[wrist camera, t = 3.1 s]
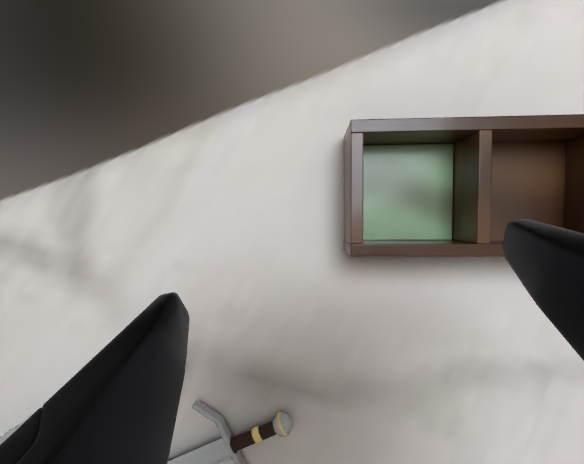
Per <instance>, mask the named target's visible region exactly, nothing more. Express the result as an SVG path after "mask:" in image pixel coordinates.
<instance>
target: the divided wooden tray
mask: <svg viewBox="0 0 584 464" xmlns="http://www.w3.org/2000/svg"><path fill="white" fill-rule="evenodd" d="M520 219H530V220H534V221H537V222H541V223H545V224H549V225H553V226H557V227H561V228H565V229H568V230H572V231H576V232H580V233H584V114H577V115H535V116H493V117H451V118H409V119H367V120H351V121H350V124H349V126H348V129H347V131H346V133H345V136H344V250H345V251H346V252H347V253H348V254H349V255H350V256H452V257H504V255H503V252H502V245H503V239H504V234H505V228H506V225H507V224H508V223H509V222H511V221H516V220H520Z"/></svg>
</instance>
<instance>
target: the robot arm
mask: <svg viewBox="0 0 584 464" xmlns="http://www.w3.org/2000/svg"><path fill="white" fill-rule="evenodd" d="M502 252H503V255H504V257H505V258H506V260H507V261H508V263H509V264H510V266H511V267H512V269H513V270H514V272H515V273H516V275H517V276H518V278H519V279H520V281H521V282H522V284H523V285H524V287H525V288H526V290H527V291H528V293H529V294H530V296H531V297H532V298H533V300H534V301H535V302H536V304H537V305H538V306H539V308H540V309H541V310H542V311H543V313H544V314H545V315H546V316H547V317H548V319H549V320H550V321H551V322H552V323H553V325H554V326H555V327H556V328H557V329H558V331H559V332H560V333H561V334H562V335H563V337H564V338H565V339H566V340H567V341H568V343H569V344H570V345H571V346H572V347H573V349H574V350H575V351H576V352H577V353H578V354H579V356H580V357H581V358H582V359H583V360H584V233H580V232H576V231H572V230H568V229H565V228H561V227H557V226H553V225H549V224H545V223H541V222H537V221H534V220H530V219H520V220H516V221H511V222H509V223H508V224H507V225H506V228H505V234H504V239H503V245H502ZM188 331H189V314H188V311H187V310H186V308H185V306H184V304H183V303H182V301H181V299H180V297H179V296H178V294H177V293H174V292H172V293H167V294H163V295H160V296H159V297H158V298H157V299H156V300H155V301H154V302H152V303H151V304H150V305H149V306H148V307H147V308H146V309H145V310H144V311H143V312H142V313H141V314H140V315H139V316H138V317H136V318H135V319H134V320H133V321H132V322H131V323H130V324H129V325H128V326H127V327H126V328H125V329H124V330H123V331H122V332H120V333H119V334H118V335H117V336H116V337H115V338H114V339H113V340H112V341H111V342H110V343H109V344H108V345H107V346H106V347H104V348H103V349H102V350H101V351H100V352H99V353H98V354H97V355H96V356H95V357H94V358H93V359H92V360H91V361H90V362H88V363H87V364H86V365H85V366H84V367H83V368H82V369H81V370H80V371H79V372H78V373H77V374H76V375H75V376H74V377H72V378H71V379H70V380H69V381H68V382H67V383H66V384H65V385H64V386H63V387H62V388H61V389H60V390H59V391H58V392H57V393H55V394H54V395H53V396H52V397H51V398H50V399H49V400H48V401H47V402H46V403H45V404H44V405H43V408H39V409H38V410H37V411H36V412H35V413H34V414H33V415H32V416H31V417H30V418H29V419H28V420H27V421H26V422H25V423H23V424H22V425H21V426H20V427H19V428H18V429H17V430H16V431H15V432H14V433H13V434H11V435H10V436H9V437H8V438H7V439H6V440H5V441H4V442H3V443H2V444H0V464H167V462H168V457H169V452H170V447H171V442H172V437H173V431H174V426H175V421H176V416H177V411H178V406H179V400H180V395H181V390H182V385H183V380H184V374H185V366H186V355H187V343H188Z"/></svg>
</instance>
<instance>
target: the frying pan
mask: <svg viewBox="0 0 584 464" xmlns="http://www.w3.org/2000/svg"><path fill="white" fill-rule="evenodd" d="M192 408H193V409H195V410H196V411H198V412H199V413H201V414H202V415H204V416H205V417H207V418H208V419H210V420H211V421H213V422H214V423H215V424H216V426H217V428H218V430H219V432H220V434H221V436H222V438H221V439H219V440H216V441H214V442H212V443H209V444H207V445H205V446H202V447H200V448H198V449H196V450H193V451H191V452H189V453H186V454H184V455H182V456H179V457H177V458H175V459H172V460H170V461H168V462H167V464H218V463H220V462H223V461H225V460H227V459H230V458H232V459H233V461H234V463H235V464H245V462H244V460H243V458H242V456H241V454H240V451H239V450H241V449H243V448H245V447H248V446H250V445H253V444H255V443H261V442H262V441H263V440H264V439H267V438H269V437H271V436H274V435H276V434H278V435H280V436H285V437H287V436H288V434H289V433H290V431H291V430H292V426H293V422H292V418H291V417H290V415H289V414H287V413H285V412H281V411H280V412H278V414H277V415H276V416H275V417H274V420H273V421H271V422H268V423H266V424H264V425H261V426H256V427H254V428H252V430H250V431H247V432H245V433H243V434H240V435H238V436H236V437H232V435H231V433H230V431H229V429H228V427H227V425H226V423H225V420H224V418H223V417H222V415H220V414H218V413H217V412H215V411H214V410H212V409H211V408H209V407H208V406H206V405H205V404H203V403H202V402H200V401H198V400H196V401H195V403H194V405H193V406H192ZM20 426H21V425H19V426H16V427H15V428H13V429H12V430H10V431H9V432H7V433H6V434H4V435H3V436H1V437H0V444H2V443H3V442H4V441H5V440H6V439H7V438H8V437H9V436H10V435H11V434H13V433H14V432H15V431H16V430H17V429H18V428H19V427H20Z"/></svg>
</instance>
